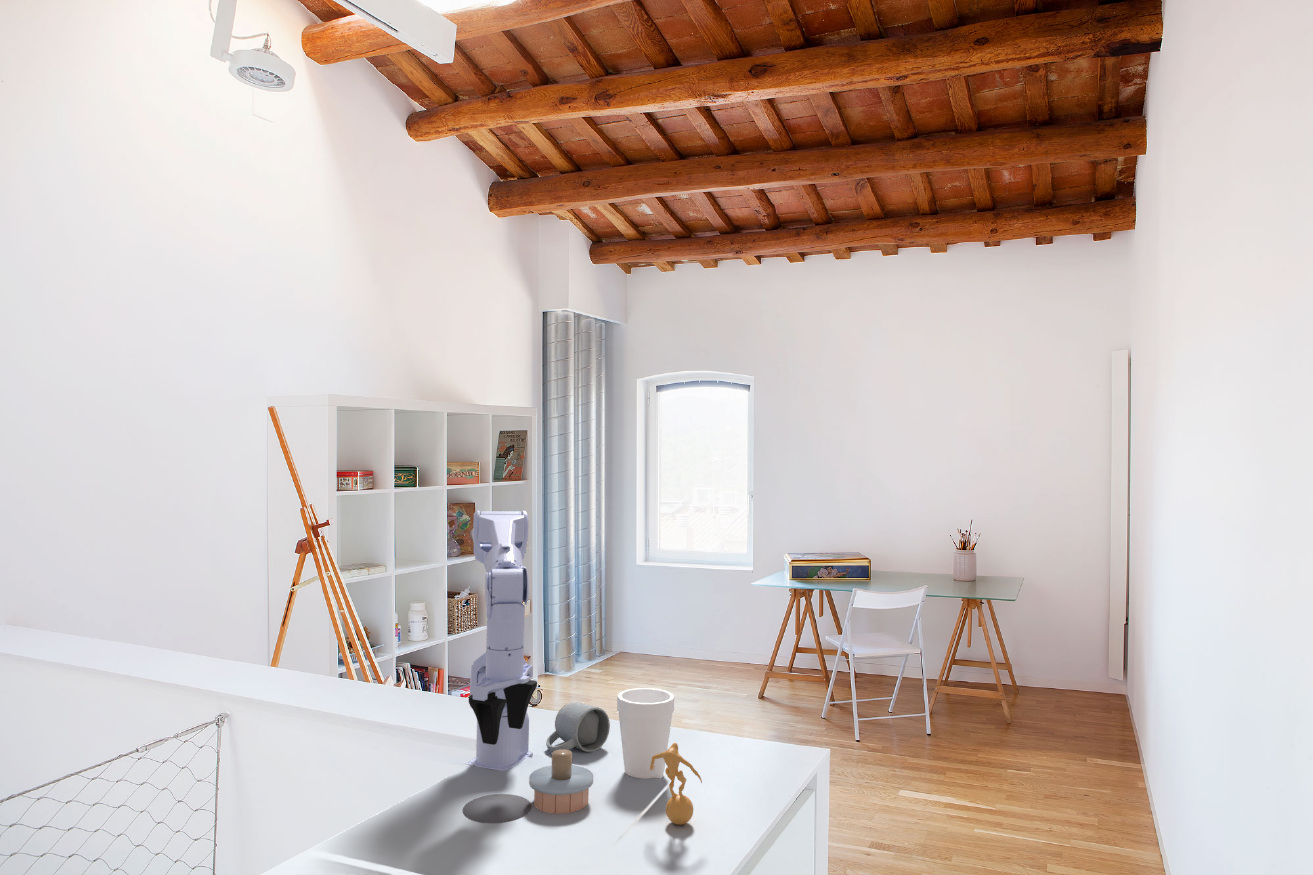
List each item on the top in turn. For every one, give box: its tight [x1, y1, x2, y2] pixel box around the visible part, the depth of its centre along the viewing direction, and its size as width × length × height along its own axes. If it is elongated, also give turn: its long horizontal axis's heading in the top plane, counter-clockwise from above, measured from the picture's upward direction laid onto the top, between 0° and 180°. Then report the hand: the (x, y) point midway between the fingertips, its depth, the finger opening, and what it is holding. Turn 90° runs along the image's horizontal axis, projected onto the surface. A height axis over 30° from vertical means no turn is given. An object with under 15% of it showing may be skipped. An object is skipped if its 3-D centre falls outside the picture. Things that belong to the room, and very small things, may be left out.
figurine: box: [650, 742, 703, 826], centre depth 116 cm, size 8×6×12 cm
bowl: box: [533, 788, 590, 815], centre depth 122 cm, size 8×8×4 cm
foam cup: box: [616, 687, 675, 780], centre depth 135 cm, size 10×9×13 cm
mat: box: [462, 793, 533, 824], centre depth 120 cm, size 10×10×1 cm
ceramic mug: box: [545, 701, 611, 754], centre depth 147 cm, size 11×8×8 cm
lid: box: [528, 750, 594, 795], centre depth 123 cm, size 10×10×4 cm
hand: (502, 735), depth 125 cm, fingers open, 7 cm apart
